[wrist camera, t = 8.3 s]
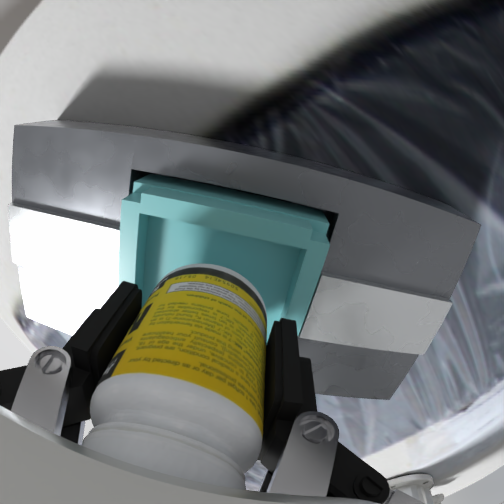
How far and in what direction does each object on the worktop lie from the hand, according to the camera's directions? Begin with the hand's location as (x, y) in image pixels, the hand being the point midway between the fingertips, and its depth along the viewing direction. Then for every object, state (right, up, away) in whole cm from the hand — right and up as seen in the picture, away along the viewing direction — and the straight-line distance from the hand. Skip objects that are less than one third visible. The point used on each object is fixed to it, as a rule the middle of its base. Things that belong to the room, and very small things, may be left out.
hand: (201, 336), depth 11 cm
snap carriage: (0, +2, +5) cm, 5 cm away
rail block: (0, +3, +7) cm, 8 cm away
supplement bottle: (0, +1, +2) cm, 2 cm away
